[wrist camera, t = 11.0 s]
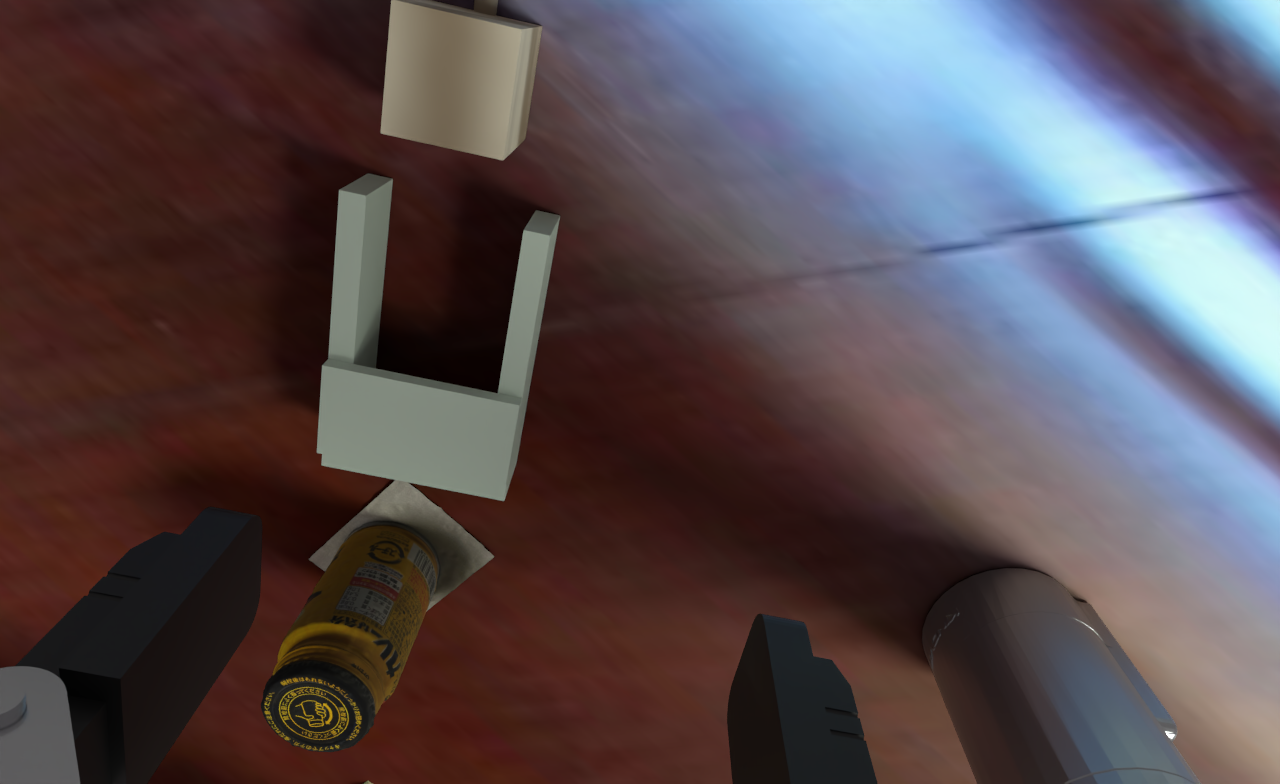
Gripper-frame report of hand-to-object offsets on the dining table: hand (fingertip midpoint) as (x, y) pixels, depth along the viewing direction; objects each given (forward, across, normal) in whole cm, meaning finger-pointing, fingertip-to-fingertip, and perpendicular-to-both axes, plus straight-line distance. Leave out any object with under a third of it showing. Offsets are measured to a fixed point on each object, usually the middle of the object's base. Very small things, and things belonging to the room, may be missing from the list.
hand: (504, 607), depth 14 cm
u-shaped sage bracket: (+30, +7, +8) cm, 32 cm away
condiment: (+30, +8, +23) cm, 39 cm away
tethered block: (+30, +7, -11) cm, 33 cm away
